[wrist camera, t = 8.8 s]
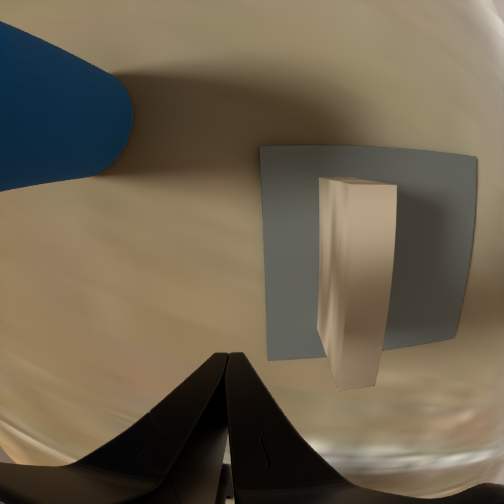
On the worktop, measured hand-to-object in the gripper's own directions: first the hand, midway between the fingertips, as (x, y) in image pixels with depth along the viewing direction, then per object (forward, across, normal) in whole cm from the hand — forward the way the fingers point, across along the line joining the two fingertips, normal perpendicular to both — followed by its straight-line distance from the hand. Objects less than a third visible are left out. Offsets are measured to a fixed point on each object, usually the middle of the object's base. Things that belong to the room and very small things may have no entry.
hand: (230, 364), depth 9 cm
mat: (+10, -8, 0) cm, 13 cm away
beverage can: (+10, +9, -9) cm, 16 cm away
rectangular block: (+9, -5, 0) cm, 11 cm away
